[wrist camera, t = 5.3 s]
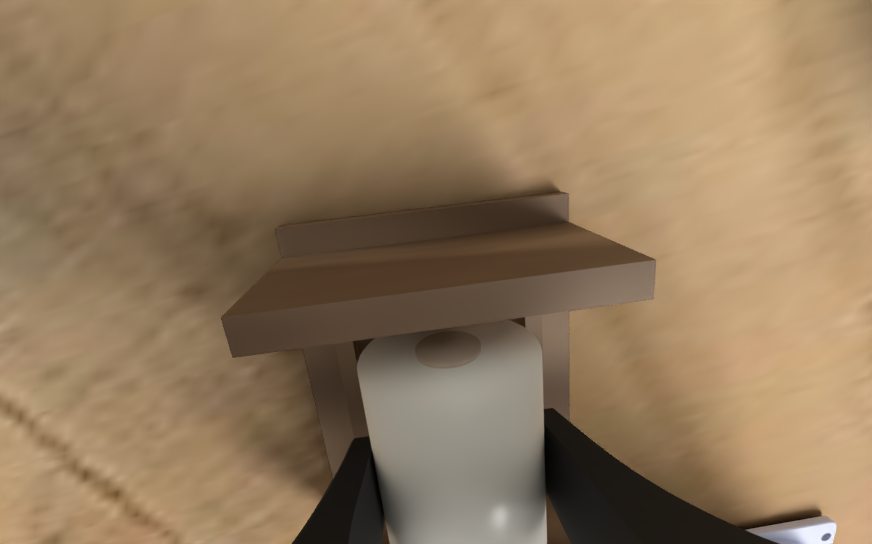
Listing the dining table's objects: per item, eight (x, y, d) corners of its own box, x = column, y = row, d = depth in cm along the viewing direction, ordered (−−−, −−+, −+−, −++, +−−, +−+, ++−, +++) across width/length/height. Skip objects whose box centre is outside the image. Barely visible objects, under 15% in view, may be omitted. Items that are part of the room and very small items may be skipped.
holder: (564, 494, 19) (631, 632, 13) (349, 530, 18) (330, 689, 13) (561, 191, 14) (658, 217, 9) (279, 225, 14) (208, 274, 9)
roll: (523, 474, 16) (572, 616, 11) (395, 490, 16) (389, 643, 11) (514, 301, 13) (572, 386, 9) (366, 319, 13) (342, 416, 9)
